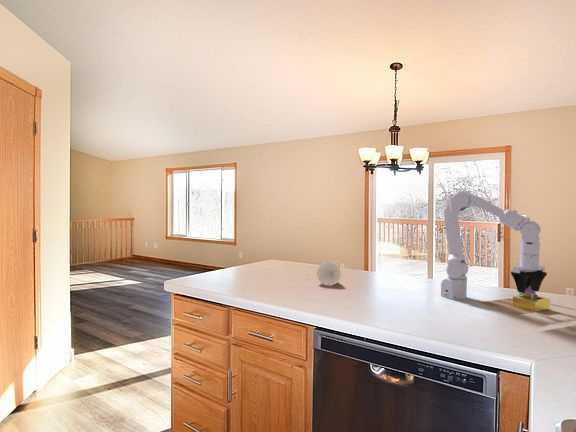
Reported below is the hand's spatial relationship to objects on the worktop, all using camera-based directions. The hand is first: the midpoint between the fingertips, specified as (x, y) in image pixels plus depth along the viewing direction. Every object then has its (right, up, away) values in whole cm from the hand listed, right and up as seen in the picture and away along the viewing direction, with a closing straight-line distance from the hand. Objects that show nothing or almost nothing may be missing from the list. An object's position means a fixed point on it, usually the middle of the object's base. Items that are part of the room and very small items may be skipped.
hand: (528, 291), depth 126 cm
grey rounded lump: (-65, -6, +46) cm, 80 cm away
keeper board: (-3, -7, +3) cm, 9 cm away
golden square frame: (+2, -6, +1) cm, 6 cm away
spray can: (+11, -7, +16) cm, 21 cm away
